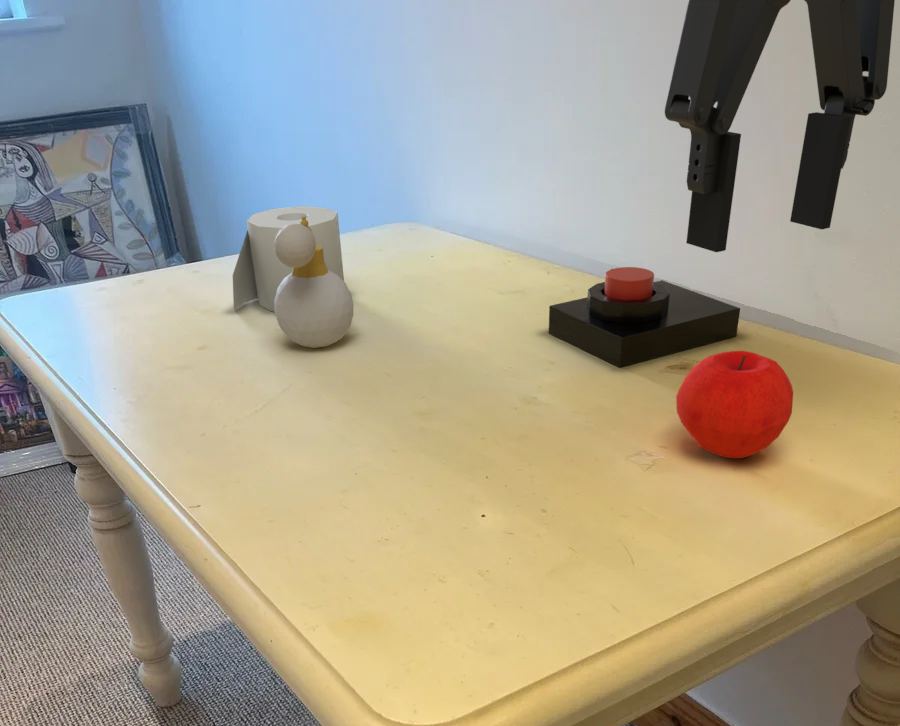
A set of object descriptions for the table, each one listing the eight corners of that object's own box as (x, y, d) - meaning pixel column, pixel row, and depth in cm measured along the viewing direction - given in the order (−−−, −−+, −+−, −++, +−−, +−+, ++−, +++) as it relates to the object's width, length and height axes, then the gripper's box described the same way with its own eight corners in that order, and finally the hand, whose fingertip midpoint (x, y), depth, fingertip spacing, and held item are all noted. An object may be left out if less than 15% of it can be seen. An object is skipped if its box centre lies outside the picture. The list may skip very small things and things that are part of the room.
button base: (659, 306, 96) (664, 261, 94) (736, 336, 89) (743, 288, 86) (548, 333, 91) (549, 286, 88) (619, 367, 83) (623, 317, 80)
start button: (631, 286, 89) (633, 264, 88) (662, 297, 86) (664, 275, 85) (594, 294, 87) (595, 272, 86) (624, 306, 84) (626, 283, 83)
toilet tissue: (215, 313, 99) (200, 228, 94) (304, 281, 108) (295, 202, 103) (273, 329, 95) (261, 240, 90) (362, 294, 103) (355, 212, 98)
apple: (662, 467, 67) (673, 368, 63) (680, 423, 73) (691, 330, 69) (778, 483, 65) (798, 381, 60) (787, 436, 71) (805, 340, 66)
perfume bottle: (347, 326, 95) (335, 200, 88) (370, 358, 87) (359, 223, 80) (273, 336, 93) (255, 208, 86) (290, 369, 85) (272, 232, 78)
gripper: (908, -215, 54) (829, 201, 67) (616, -230, 46) (591, 249, 59) (1030, -236, 49) (919, 221, 62) (726, -257, 40) (671, 277, 53)
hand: (759, 235), depth 60 cm, fingers open, 8 cm apart
